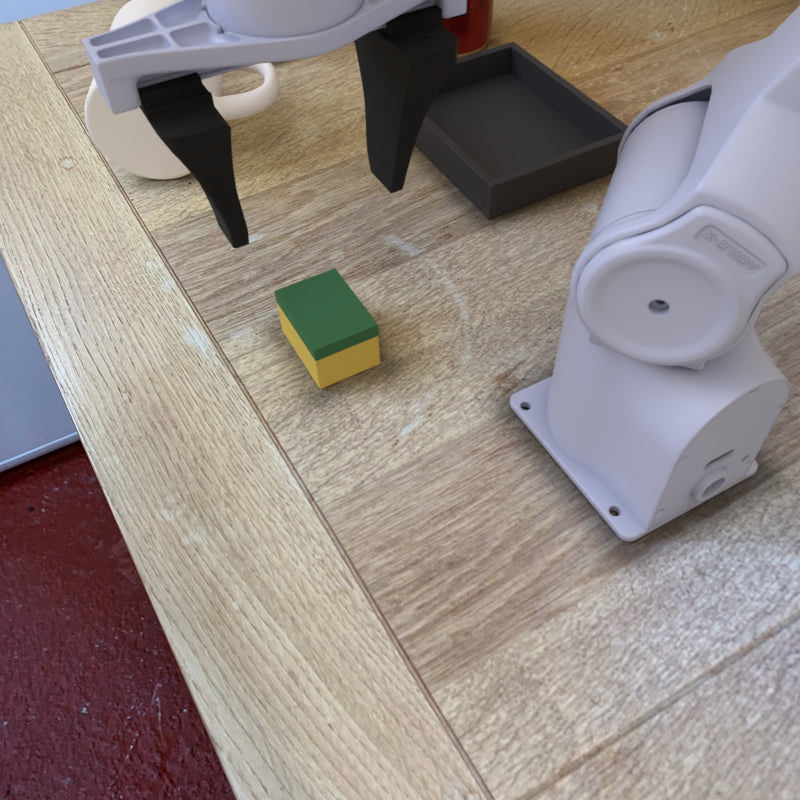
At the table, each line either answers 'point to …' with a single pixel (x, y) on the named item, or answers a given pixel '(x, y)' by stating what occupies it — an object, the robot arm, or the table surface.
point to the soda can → (472, 26)
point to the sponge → (328, 327)
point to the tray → (516, 131)
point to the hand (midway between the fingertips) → (312, 206)
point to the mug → (131, 131)
